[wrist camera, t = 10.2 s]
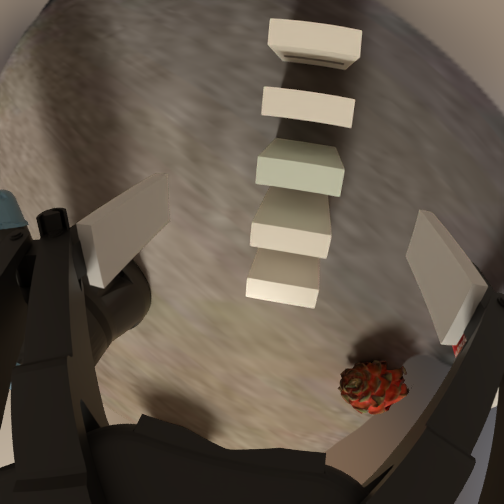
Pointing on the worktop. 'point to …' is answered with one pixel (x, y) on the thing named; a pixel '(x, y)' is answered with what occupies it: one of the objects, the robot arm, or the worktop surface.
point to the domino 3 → (301, 167)
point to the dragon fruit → (372, 386)
